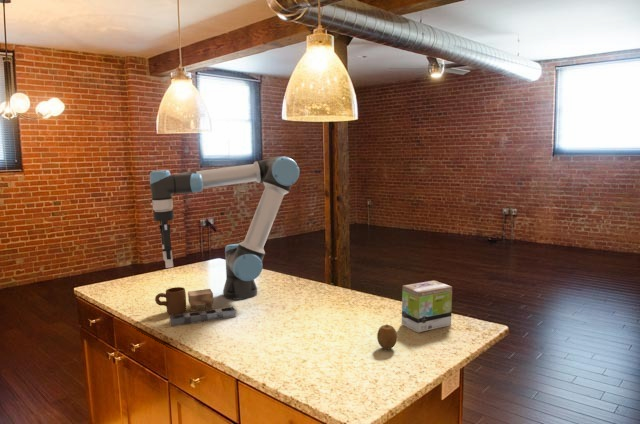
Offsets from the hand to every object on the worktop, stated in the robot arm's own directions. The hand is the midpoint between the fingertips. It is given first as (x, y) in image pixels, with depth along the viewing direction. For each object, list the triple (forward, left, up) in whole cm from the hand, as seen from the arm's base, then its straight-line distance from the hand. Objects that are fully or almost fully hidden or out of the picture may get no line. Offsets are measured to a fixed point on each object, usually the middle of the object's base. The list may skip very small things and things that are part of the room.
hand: (168, 263), depth 186 cm
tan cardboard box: (-12, 0, -20) cm, 23 cm away
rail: (-11, +13, -20) cm, 26 cm away
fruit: (-61, +66, -21) cm, 92 cm away
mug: (0, 0, -21) cm, 21 cm away
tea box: (-84, +54, -21) cm, 102 cm away
